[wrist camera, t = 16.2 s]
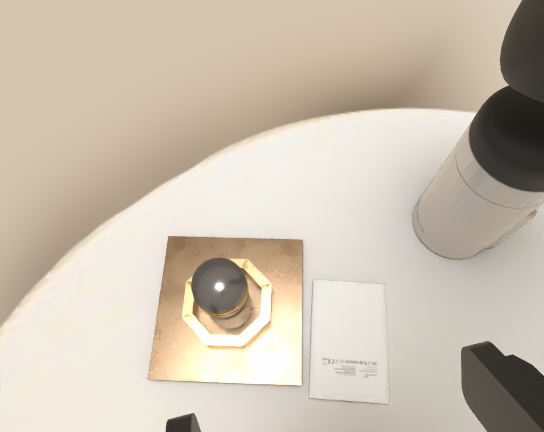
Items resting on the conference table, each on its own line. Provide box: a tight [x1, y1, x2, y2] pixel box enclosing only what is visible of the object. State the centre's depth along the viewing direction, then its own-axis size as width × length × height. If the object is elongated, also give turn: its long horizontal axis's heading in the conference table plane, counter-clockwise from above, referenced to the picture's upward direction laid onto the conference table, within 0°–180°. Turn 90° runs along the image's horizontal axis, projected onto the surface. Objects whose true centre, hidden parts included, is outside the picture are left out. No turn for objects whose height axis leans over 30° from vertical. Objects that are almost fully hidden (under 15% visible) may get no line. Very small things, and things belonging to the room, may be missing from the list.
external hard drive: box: [308, 280, 389, 404], centre depth 46 cm, size 2×8×12 cm
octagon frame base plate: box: [148, 236, 303, 386], centre depth 47 cm, size 16×16×4 cm
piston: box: [191, 258, 252, 328], centre depth 43 cm, size 5×5×10 cm
